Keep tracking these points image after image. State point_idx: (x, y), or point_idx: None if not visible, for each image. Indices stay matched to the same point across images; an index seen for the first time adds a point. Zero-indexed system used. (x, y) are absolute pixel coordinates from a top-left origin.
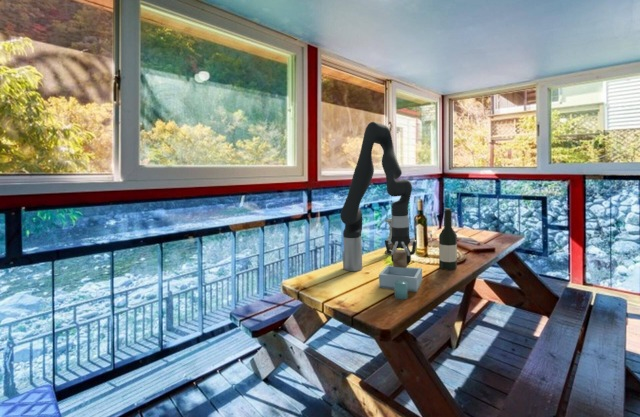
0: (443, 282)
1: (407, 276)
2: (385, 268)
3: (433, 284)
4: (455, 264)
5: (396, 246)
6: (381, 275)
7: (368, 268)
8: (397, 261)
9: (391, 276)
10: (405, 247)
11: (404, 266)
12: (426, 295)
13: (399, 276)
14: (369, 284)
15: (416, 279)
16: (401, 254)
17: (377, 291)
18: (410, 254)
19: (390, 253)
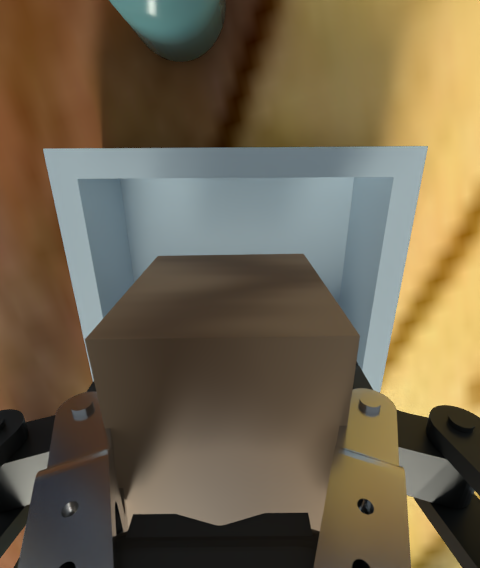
0: (17, 363)
1: (140, 174)
2: (381, 335)
3: (55, 318)
4: (18, 562)
5: (323, 556)
6: (397, 147)
7: None
8: (255, 277)
9: (294, 147)
10: (52, 538)
11: (170, 259)
12: (21, 108)
13: (213, 148)
14: (451, 195)
15: (52, 149)
16: (173, 332)
17: (376, 63)
18: (58, 420)
19: (402, 414)
